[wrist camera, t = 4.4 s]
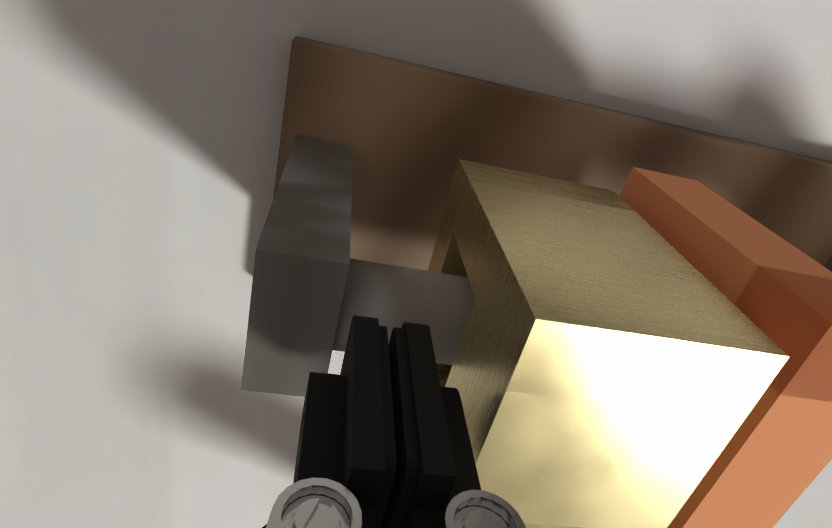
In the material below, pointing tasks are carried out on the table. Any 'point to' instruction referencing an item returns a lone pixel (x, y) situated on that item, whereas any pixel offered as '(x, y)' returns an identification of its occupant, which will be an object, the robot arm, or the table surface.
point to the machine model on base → (429, 190)
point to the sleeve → (589, 353)
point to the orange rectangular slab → (781, 321)
